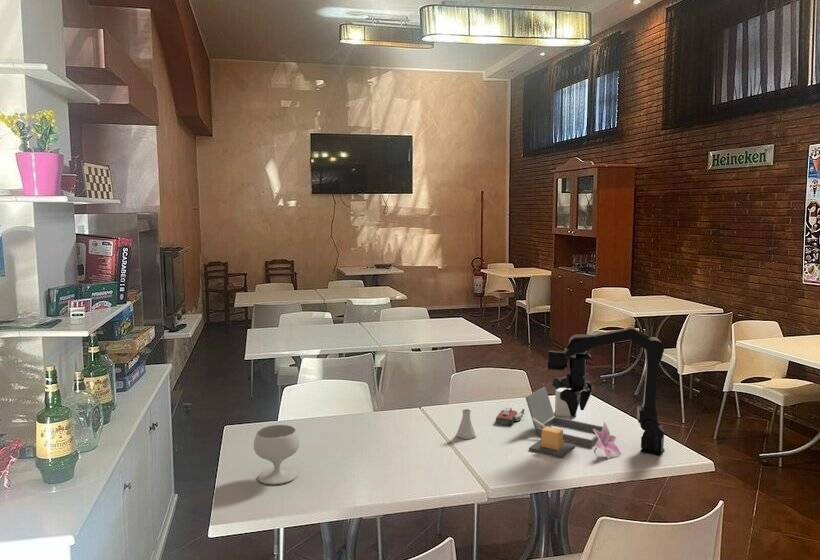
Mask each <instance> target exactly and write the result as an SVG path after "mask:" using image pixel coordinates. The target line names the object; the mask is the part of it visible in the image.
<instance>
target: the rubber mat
mask: <svg viewBox="0 0 820 560" xmlns="http://www.w3.org/2000/svg"><path fill="white" fill-rule="evenodd" d="M574 449H576V444H574V443H570V442H565V441H563V446H562V447H561V448H560V449H559V450H555V449H551V448H547V447H542V438H541V439H539V440H538V441H537V442H535V443H533V445H531V446H529V447H528V451H530V452H534V453H537V454H542V455H546V456H550V457H555V458H559V459H563V458H564V457H565V456H566V455H568V454H569V453H570V452H572V451H573V450H574Z"/></svg>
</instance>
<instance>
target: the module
mask: <svg viewBox="0 0 820 560" xmlns="http://www.w3.org/2000/svg"><path fill="white" fill-rule="evenodd" d="M563 434H564V429H562V428H557V427H552V426H550V427H548V426H547V427H545V428H544V429H542V436H541V439H542V447H547V448H551V449H555V450H559V449H560V448H561V447H562V446H563V442H564V441H563Z"/></svg>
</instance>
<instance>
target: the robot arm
mask: <svg viewBox="0 0 820 560" xmlns="http://www.w3.org/2000/svg"><path fill="white" fill-rule="evenodd" d="M625 341H632V342H634V343H636V344H637V345H638V346H640V347H641V348H642V349H644V350H643V351H644V357H645V375H644V389H643V401H642V404H641V406H640V405H637V406H636V409H637V413H636V415H635V417H636V420H637V422H638V424H639V426H640V428H641V429H642V430H643V433H642V435H641V438H640V452H642V453H647V454H651V455H656V456H661V455H663V453H664V452H665V450H666V449H665V448H664V446H665V445H664V444H665V443H664V442H665V433H666V432H665V431H664V429H663V426H662V425H661V424H660V423H659V421H658V420H659V419H658V414H657V408H656V401H657V390H658V376H659V366H660V363H661V361H662V360H663V359H662V358H663V355H664V353H665V352H664V351H665V346H664V344H663V342H662V341H661V340H660V339H659V338H657V337H656V336H655V337H654V336H649V335H648V334H645V333H644V332H642V331H640V330H638V329H637V328H636V327H634V326H628V327H627V328H621V329H615V330H610V331H605V332H600V333H595V334H586V333H583V334H580V333H578V334H573V335H571V336H570V337H569V341H568V345H567V346H566V347H565V348H564V350H563V351H561V350H559V351H556V350H548V359H547V370H548V371H565V369H566V368H568V373H567V374H566V375H565V376H561V377H559V376H558V377H555V378H553V380H552V384H551V385H552V387H554V388H555V389H559V388H568V389H565V390H563V391H562V392H561V393H560V399H562V400H563V401H565V402H566V403H567V405H568V408H569V411H570V415H571V416H570V417H571V418H575V417H576V416H577V412H578V408H579V409H580V411H584V410H585V408H586V406H587V404H588V401H589V399H590V397H591V395H592V393H594V389H595V383H594V382H593V380H588V379H587V377H588V372H587V368H586V367H587V360H591V359H592V356H591V354H590V353H588V351H590V350H592V349H594V348H596V347H599V346H605V345H610V344H615V343H620V342H625ZM569 388H570V389H569ZM555 389H554V390H555ZM575 415H576V416H575Z"/></svg>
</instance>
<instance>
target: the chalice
mask: <svg viewBox="0 0 820 560" xmlns="http://www.w3.org/2000/svg"><path fill="white" fill-rule="evenodd" d="M253 441H254V442H253V450H254V452H255V455H257V456H258V457H259V458H261V459H264V460H266V461H269V462H271V463H272V464H273V468H269V469H267V470H264V471H262V472H261V473H260V474H258V475H257V480H258V481H259V482H260V483H262V484H265V485H282V484H286V483H289V482H291V481H293V480H296V478H297V476H298V472H297V471H296V470H294V469H291V468H290V467H289V468H288V467H281V464H282V462H283V461H285V460H286V459H288V458H290V457H292V456H293V455H294V454H296V453H297V452H298V449H299V447H300V438H299V434H298V431H297V429H296V428H295V427H294V426H291V425H288V424H273V425H268V426H264V427H261V428H260V429H258V431H257V432H256V434H255V437H254V440H253Z"/></svg>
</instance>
